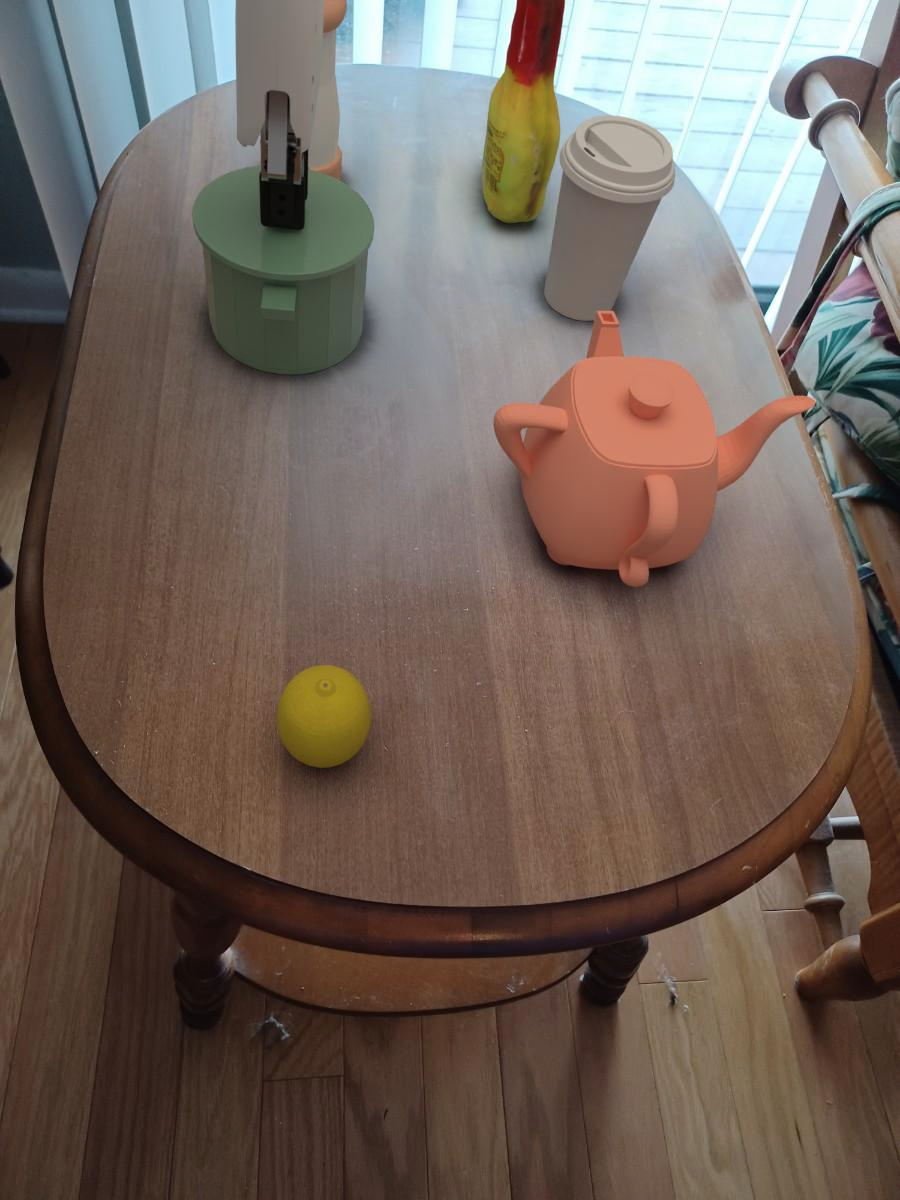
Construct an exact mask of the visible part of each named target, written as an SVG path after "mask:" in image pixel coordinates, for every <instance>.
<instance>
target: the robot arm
mask: <svg viewBox="0 0 900 1200" xmlns="http://www.w3.org/2000/svg"><path fill="white" fill-rule="evenodd" d="M234 11H235V16H234V17H235V19H234V21H235V22H234V23H235V24H234V25H235V27H234V30H235V31H234V32H235V34H234V35H235V37H234V38H235V43H234V44H235V78H236V79H235V83H236V86H235V88H236V139H237V142H238V143H239V144H240V145H241V146H242V147H245V148H246V147H247V146H249V147H251V146H252V147H255V146H256V143H257V141H258V139H259V136H260V139H259V143H260V166H261V172H260V174H259V188H260V221H261V224H262V225H263V226H266V227H274V228H284V229H293V230H302V229H303V228H304V224H305V200H306V199H307V196H308V148H309V147H310V142H311V136H312V130H313V124H314V118H315V111H316V104H317V97H318V89H319V81H320V71H321V58H322V42H323V20H324V0H235V10H234ZM288 150H290V151H293V160H292V158H288V157H287V152H288ZM302 153H303V155H304V177H301V176H302Z"/></svg>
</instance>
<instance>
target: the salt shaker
mask: <svg viewBox="0 0 900 1200" xmlns="http://www.w3.org/2000/svg"><path fill="white" fill-rule="evenodd" d="M347 6H348V4H347V0H324V20H323V42H322V58H321V71H320V81H319V89H318V97H317V104H316V111H315V118H314V124H313V130H312V136H311V142H310V147H309V148H308V167H309V169H311V170H315V171H318V172H321V173H324V174H326V175H329V176H331V177H334V178H336V179H338V180H340V181H341V182H342V162H343V161H342V160H343V151H342V149H341V148H340V145H339V138H340V125H341V123H340V121H341V111H340V110H341V109H340V102H339V94H338V84H337V77H336V57H337V56H336V54H337V53H336V49H337V29H338V28H339V26H340V25H341V24H342V22H343V21H344V19H345V16H346V14H347V9H348V7H347Z"/></svg>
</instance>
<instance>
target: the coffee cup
mask: <svg viewBox="0 0 900 1200" xmlns="http://www.w3.org/2000/svg"><path fill="white" fill-rule="evenodd" d="M673 156H674V152H673V147H672V145H671V142H670V141H669V140H668V139H667V137H666V136H664V134H663V133H662V132H661V131H659V130H657V129H656V128H654V127H653V126H651V125H649V124H647V123H645V122H642V121H640V120H637V119H635V118H631V117H626V116H620V115H597V116H593V117H590V118H587V119H586V120H584V121H582V122H581V123H580V124H578V127H577V128H576V130H575V131H574V132H573V133H572V134H570V136H569V137H568V138H567V140H566V141H565V142H564V144H563V146H562V147H561V150H560V152H559V156H558V157H559V159H558V160H559V164H560V167H561V169H562V174H561V181H560V187H559V192H558V193H559V194H558V200H557V201H558V202H557V206H556V213H555V220H554V226H553V233H552V239H551V245H550V252H549V258H548V263H547V264H548V265H547V271H546V276H545V277H546V278H545V281H544V282H545V283H544V290H543V292H544V293H543V294H544V298H545V301H546V302H547V304H548V305H549V307H551V308H552V309H553V310H554V311H556V312H557V313H558V314H560V315H562V316H564V317H565V318H569V319H571V320H576V321H583V322H591V321H594V320H595V316H596V312H597V311H612V309H613V307H614V305H615V303H616V301H617V298H618V297H619V294H620V291H621V289H622V287H623V285H624V283H625V280H626V278H627V276H628V274H629V271H630V270H631V267H632V265H633V263H634V261H635V258H636V257H637V254H638V252H639V250H640V247H641V245H642V243H643V241H644V239H645V236H646V234H647V231H648V230H649V227H650V225H651V222H652V220H653V219H654V217H655V214H656V212H657V210H658V207H659V205H660V203H661V201H662V199H663V198H664V197H665V196H667V195H668V194H669V193H670V192H671V191H672V190H673V188H674V185H675V181H676V180H675V179H676V165H675V162H674V157H673Z"/></svg>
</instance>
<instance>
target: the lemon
mask: <svg viewBox="0 0 900 1200" xmlns="http://www.w3.org/2000/svg"><path fill="white" fill-rule="evenodd" d="M371 723H372V709H371V704H370V701H369V697H368V693H367V691H366V690H365V688H364V686H363V684H362V683H361V681H360V680H359V679H358V678H356V677H355V675H353V674H352V672H349V671H348V670H346V669H345V668H343V667H339V666H336V665H332V664H331V665H329V664H319V665H313V666H310V667H308V668H305V669H303V670H301V671H300V672H299V673H297V674H295V676H294V677H293V678H292V679H290V681H289V682H288V683H287V685H286V686H285V688H284V689H283V692H282V693H281V695H280V697H279V700H278V705H277V710H276V728H277V733H278V735H279V738H280V740H281V743H282V745H283V746H284V747H285V749H286V750H287V752H288V753H289V754H290V755H291V756H292V757H293V758H295V759H296V760H297V761H298V762H301V763H303V764H305V765H306V766H309V767H315V768H318V769H321V768H324V769H325V768H332V767H335V766H339V765H342V764H344V763H345V762H347V761H349V760H351V759H352V758H353V757H354V756H355V755H356V754H357V753H358V752H359V751H360V750H361V748H362V747H363V745H364V743H365V742H366V740H367V739H368V735H369V732H370V728H371Z"/></svg>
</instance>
